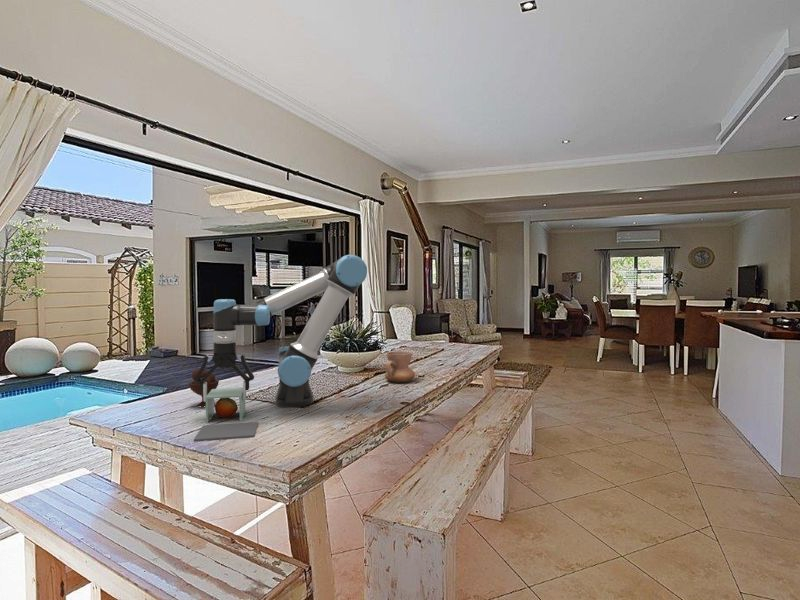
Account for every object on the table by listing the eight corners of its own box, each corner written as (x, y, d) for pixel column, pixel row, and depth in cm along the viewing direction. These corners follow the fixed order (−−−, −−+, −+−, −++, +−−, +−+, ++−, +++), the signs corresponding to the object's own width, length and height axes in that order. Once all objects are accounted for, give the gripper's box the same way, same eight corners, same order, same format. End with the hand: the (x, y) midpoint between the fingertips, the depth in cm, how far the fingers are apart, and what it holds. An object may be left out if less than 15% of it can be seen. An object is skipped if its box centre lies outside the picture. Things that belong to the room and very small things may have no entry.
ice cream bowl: (209, 409, 180) (208, 371, 179) (183, 408, 182) (182, 370, 181) (224, 402, 190) (223, 365, 189) (200, 401, 192) (199, 364, 191)
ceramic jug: (400, 376, 238) (399, 348, 237) (422, 379, 229) (421, 351, 228) (375, 383, 225) (374, 353, 224) (398, 387, 215) (397, 356, 214)
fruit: (213, 410, 174) (224, 391, 174) (232, 420, 175) (243, 401, 175) (206, 416, 166) (217, 397, 166) (226, 427, 167) (237, 408, 167)
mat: (258, 423, 162) (258, 421, 162) (254, 437, 149) (254, 435, 149) (202, 427, 159) (202, 425, 158) (193, 441, 145) (193, 439, 145)
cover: (245, 411, 178) (245, 387, 177) (241, 420, 166) (241, 395, 165) (212, 413, 175) (211, 389, 175) (206, 422, 163) (205, 397, 163)
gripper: (185, 344, 163) (185, 404, 164) (259, 342, 168) (259, 401, 169) (190, 341, 170) (190, 398, 171) (261, 340, 175) (261, 396, 176)
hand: (225, 400), depth 170 cm, fingers open, 13 cm apart
